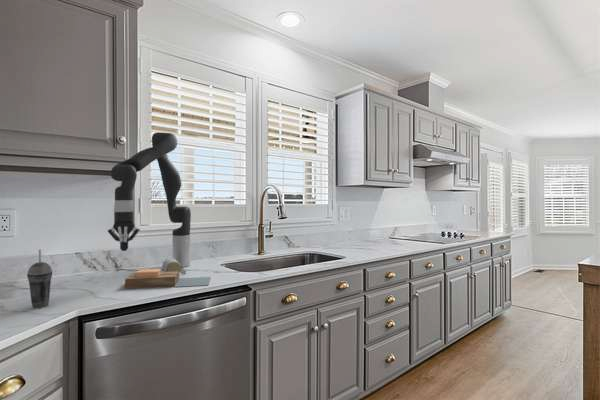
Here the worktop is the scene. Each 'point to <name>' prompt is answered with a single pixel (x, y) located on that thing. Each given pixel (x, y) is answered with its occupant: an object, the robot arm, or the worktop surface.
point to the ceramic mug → (172, 266)
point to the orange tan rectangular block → (148, 272)
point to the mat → (193, 282)
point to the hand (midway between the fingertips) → (124, 250)
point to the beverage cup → (39, 283)
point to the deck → (152, 280)
